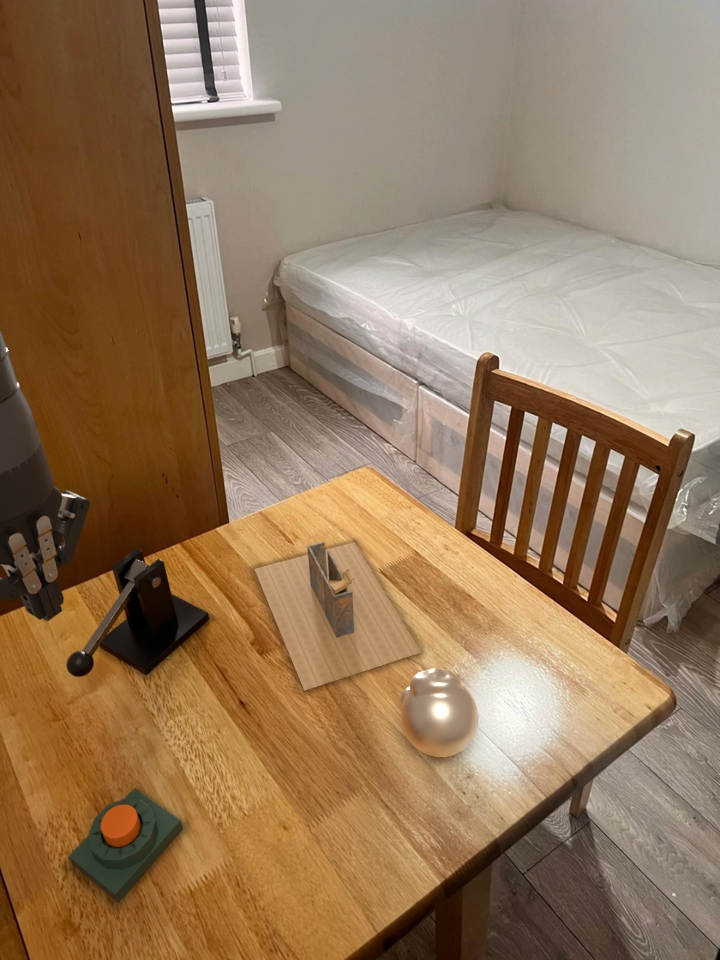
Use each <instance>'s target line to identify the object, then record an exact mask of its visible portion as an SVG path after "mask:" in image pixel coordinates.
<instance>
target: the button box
mask: <svg viewBox="0 0 720 960" xmlns="http://www.w3.org/2000/svg"><path fill="white" fill-rule="evenodd" d="M118 805H129V806H132V807H133V808H134V809H135V810H136V812H137V815H138V818H139V821H140V831H139V833H138V835H137V837H136V838H135V839H134V840H133V841H132V842H131V843H129V844H128V845H126V846H123V847H113V846H110V845H109V844H108V843H107V842H106V840H105V838H104V836H103V833H102V831H101V821H102V819H103V817H104V815H105V814H106V813H107V812H108V811H109V810H110V809H112V808H113V807H115V806H118ZM183 830H184V828H183V823H182V820H181V819H180V818H178V817H177V816H175V815H174V814H172V813H171V812H170V811H169V810H167V809H165V808H164V807H163V806H161V805H160V804H159V803H157V802H156V801H155V800H153V799H152V798H150V797H149V796H147V795H145V793H143V792H142V791H140V790H139V789H138V788H136V787H134V788H133V789H132V790H131V791H130V792H129V793H128V794H127V795H126V796H125V797H124V798H122V799H120V800H117V801H115V802H112V803H110V804H108V805H106V806H105V807H104V808H103V809H102V810H101V811H100V812H99V813H98V814H97V815H96V816H95V817H94V819H93V821H92V823H91V827H90V829H89V832H88V835H87V837H85V838H84V839H83V840H82V841H81V843H79V844H78V846H77V847H76V848H74V849H73V851H72V852H70V854H69V855H68V858H69V860H70V863H71V865H72V866H73V867H74V868H76V869H77V870H78V872H81V874H83V875H84V876H85V877H86V878H87V879H89V880H90V881H91V882H93V883H94V884H95V885H96V886H97V887H99V888H100V889H101V890H102V891H103V892H105V894H107V895H109V897H110V898H112V899H113V900H114V901H116V903H120V901H122V900H123V898H124V897H125V896H126V895H127V893H128V892H129V891H130V890H131V889H132V888H133V887H134V886H135V885H136V883H138V881H139V880H140V879H141V878H142V876H144V874H145V873H146V872H147V871H148V869H150V868H151V866H152V865H153V864H154V863H155V862H156V861H157V860H158V858H159V857H160V856H161V855H162V854H163V853H164V851H166V849H167V848H168V847H169V846H170V844H171V843H172V842H173V841H175V839H176V838H177V837H178V835H179V834H180V833H181V832H182V831H183Z"/></svg>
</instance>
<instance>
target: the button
mask: <svg viewBox="0 0 720 960" xmlns="http://www.w3.org/2000/svg"><path fill="white" fill-rule="evenodd" d="M101 831H102V833H103V836H104V838H105V840H106V842H107V843H108V844H109V845H110V846H113V847H123V846H126V845H128V844H129V843H131V842H132V841H133V840H134V839H135V838H136V837H137V835H138V833H139V831H140V821H139V818H138V815H137V812H136V810H135V809H134V808H133V807H132V806H129V805H118V806H115V807H113V808H112V809H110V810H109V811H108V812H107V813H106V814H105V815H104V817H103V819H102V821H101Z"/></svg>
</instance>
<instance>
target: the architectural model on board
mask: <svg viewBox="0 0 720 960" xmlns="http://www.w3.org/2000/svg"><path fill="white" fill-rule="evenodd" d="M306 549H307V554H305V555H302V556H298V557H294V558H290V559H287V560H286V559H285V560H283V561H279V562H275V563H272V564H268V565H265V566H260V567H258V568H254V571H255V572H254V573H255V574H256V576H257V579H258V582H259V584H260V586H261V588H262V591H263V593H264V597H265V599H266V601H267V603H268V606H269V608H270V611H271V613H272V615H273V618H274V620H275V623H276V625H277V628H278V630H279V633H280V635H281V637H282V640H283V642H284V645H285V647H286V650H287V652H288V654H289V657H290V659H291V661H292V664H293V665H294V666H293V667H294V669H295V672H296V674H297V676H298V679H299V681H300V683H301V686H302V688H303V691H308V690H311V689H313V688H317V687H320V686H323V685H326V684H329V683H332V682H336V681H338V680H341V679H345V678H347V677H350V676H355V675H357V674H360V673H363V672H366V671H369V670H372V669H375V668H378V667H381V666H385V665H387V664H391V663H394V662H397V661H399V660H403V659H406V658H409V657H412V656H415V655H418V654H421V653H422V652H421V650H420V648H419V646H418V645H417V643H416V642H415V640H414V638H413V637H412V636H411V634H410V632H409V629H407V627H406V625H405V624H404V622H403V620H402V619H401V617H400V616H399V614H398V612H397V610H396V609H395V607H394V606H393V604H392V602H391V601H390V599H389V598H388V596H387V594H386V592H385V591H384V588H383V587H382V585H381V584H380V582H379V581H378V579H377V578H376V576H375V574H374V572H373V571H372V569H371V568H370V566H369V565H368V562H367V561H366V559H365V557H364V556H363V555H362V553H361V552H360V551H361V550H359V548H358V546H357V545H356V543H355V542H354V541H353V542H350V543H346V544H343V545H338V546H335V547H330V548H328V549H326V541H325V540H324V541H321V542H316V543H313V544H312V543H311V544H308V545H307V546H306Z"/></svg>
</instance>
